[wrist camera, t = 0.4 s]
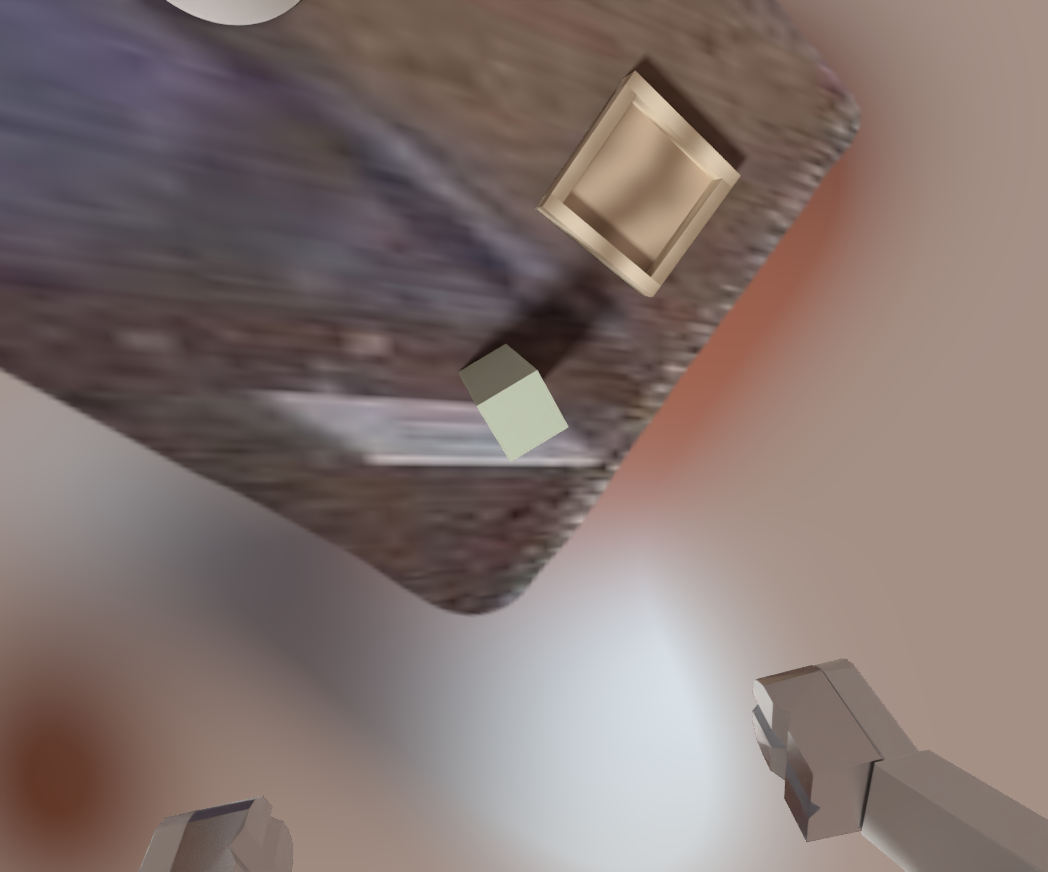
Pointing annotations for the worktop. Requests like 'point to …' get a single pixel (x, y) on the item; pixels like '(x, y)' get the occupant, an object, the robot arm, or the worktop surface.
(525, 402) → the sage block
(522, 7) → the worktop surface
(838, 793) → the robot arm
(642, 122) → the ash wood holder
